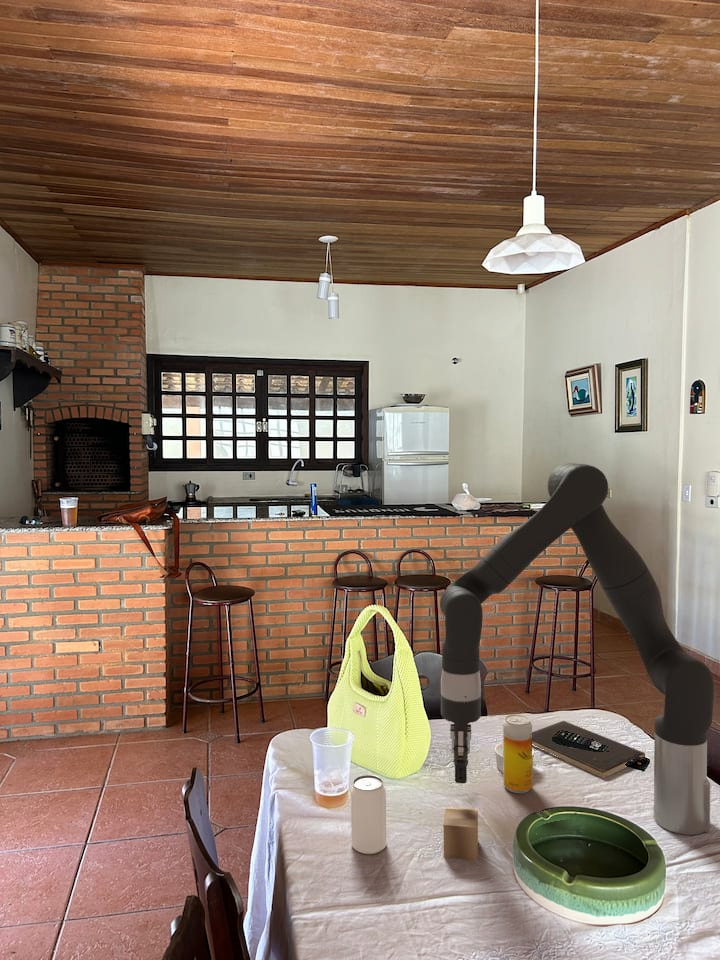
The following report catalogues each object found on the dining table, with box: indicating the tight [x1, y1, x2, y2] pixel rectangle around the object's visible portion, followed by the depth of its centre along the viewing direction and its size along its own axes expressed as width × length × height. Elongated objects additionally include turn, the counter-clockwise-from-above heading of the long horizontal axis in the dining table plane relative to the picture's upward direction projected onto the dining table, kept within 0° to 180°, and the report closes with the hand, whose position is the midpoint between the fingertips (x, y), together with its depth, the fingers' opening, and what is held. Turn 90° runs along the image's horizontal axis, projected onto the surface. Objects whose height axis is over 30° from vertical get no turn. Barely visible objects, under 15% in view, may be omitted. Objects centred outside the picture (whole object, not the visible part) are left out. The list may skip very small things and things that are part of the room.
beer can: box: [502, 714, 533, 794], centre depth 147 cm, size 6×6×15 cm
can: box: [350, 774, 387, 856], centre depth 126 cm, size 6×6×12 cm
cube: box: [442, 807, 479, 861], centre depth 125 cm, size 6×6×6 cm
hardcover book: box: [532, 720, 646, 779], centre depth 164 cm, size 16×23×2 cm
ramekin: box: [494, 742, 535, 773], centre depth 156 cm, size 9×9×4 cm
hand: (460, 781), depth 130 cm, fingers closed
